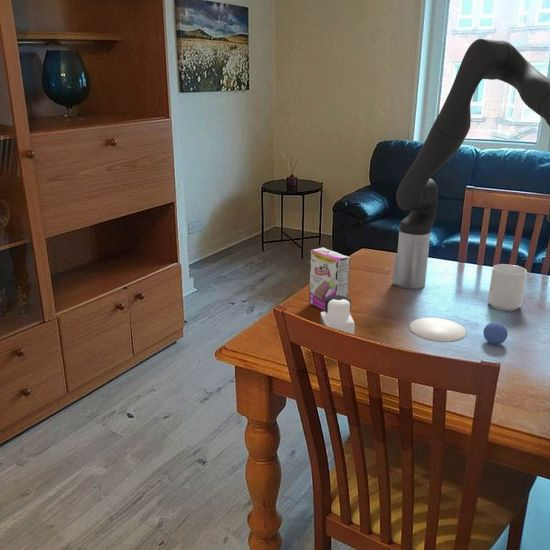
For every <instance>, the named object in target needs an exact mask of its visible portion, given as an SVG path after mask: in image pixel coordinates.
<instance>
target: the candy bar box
mask: <svg viewBox="0 0 550 550" xmlns="http://www.w3.org/2000/svg"><path fill="white" fill-rule="evenodd" d="M350 264H351V257H350V256H348V255H344V254H341V253H340V252H337V251H334V250H331V249H329V248H326V247H323V246H322V247H319V248H313V249H310V261H309V265H310V266H309V267H310V268H309V298H308V301H309V303H308V304H309V305H310V306H312V307H315V308H316V309H319V310H321V311H322V312H325V300H326V298H328V297H330V296H333V295H341V296H345V297H347V298H349V283H350V266H351V265H350Z"/></svg>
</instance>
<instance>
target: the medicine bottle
mask: <svg viewBox="0 0 550 550" xmlns="http://www.w3.org/2000/svg"><path fill="white" fill-rule="evenodd" d="M351 302H352V301H351V299H350V298H349V297H348V298H347V297H345V296H341V295H333V296H330V297H328V298H326V300H325V311H321V312H319V313H320V314H319V316H320V317H319V318H320V319H319V325H320V324H322V325H325V326H328V327H331V328H334V329H337V330H341V331H344V332H348V333H351V334H354V335H355V328H356V327H355V324H356V323H355V321H354V319H353V317H352V315H351V305H352V304H351Z"/></svg>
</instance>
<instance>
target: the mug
mask: <svg viewBox="0 0 550 550" xmlns="http://www.w3.org/2000/svg"><path fill="white" fill-rule="evenodd" d="M491 269H492V270H491V277H490V282H489V283H490V284H489V290H488V291H489V292H488V298H487V301H488V303H489V305H490V306H491V307H493V308H494V309H497V310H499V311H506V312H507V311H508V312H509V311H511V312H513V311H515V310H518V309H519V308H520V307H521V306H522V304H523V296H524V292H525V291H524V290H525V285H526V278H527V273H528V271H527V269H526V268H524V267H522V266H519V265H516V264H515V265H514V264H509V263H508V264H507V263H506V264H505V263H500V264H495V265H493V266H492V268H491Z"/></svg>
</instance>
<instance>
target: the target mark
mask: <svg viewBox="0 0 550 550" xmlns="http://www.w3.org/2000/svg"><path fill="white" fill-rule="evenodd" d="M409 329H410V332H412V333H413V334H415V335H416V336H418V337H420V338H422V339H426V340H429V341H434V342H443V343H444V342H445V343H446V342H447V343H448V342H449V343H451V342H455V341H460V340H462V339H463V338H465V337H466V335H467V331H466V329H465V327H464V326H462V325H461V324H460V323H457V322H455V321H452V320H449V319H446V318H445V319H444V318H439V317H422V318H418V319H417V318H416V319H415V320H413V321H411V322H410V325H409Z"/></svg>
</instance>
